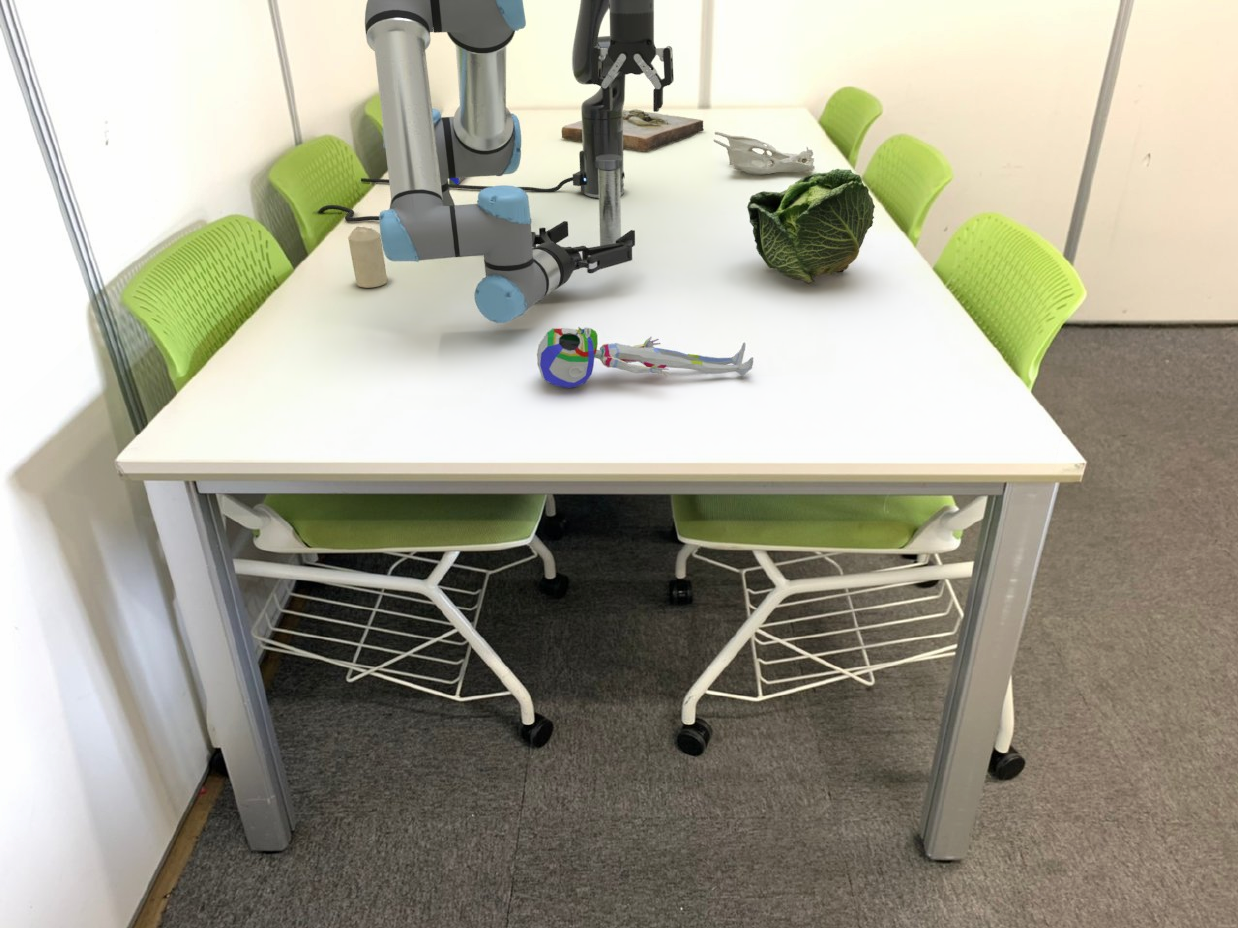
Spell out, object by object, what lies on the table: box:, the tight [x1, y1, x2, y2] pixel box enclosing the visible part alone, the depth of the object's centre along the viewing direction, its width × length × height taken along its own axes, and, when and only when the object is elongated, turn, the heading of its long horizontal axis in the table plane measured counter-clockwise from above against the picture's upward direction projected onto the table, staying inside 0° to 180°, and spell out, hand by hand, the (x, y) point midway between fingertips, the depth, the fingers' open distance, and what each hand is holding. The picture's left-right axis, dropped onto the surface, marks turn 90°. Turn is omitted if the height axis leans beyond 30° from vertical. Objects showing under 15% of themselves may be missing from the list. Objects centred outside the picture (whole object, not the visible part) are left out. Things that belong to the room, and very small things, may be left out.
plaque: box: [561, 108, 705, 152], centre depth 257 cm, size 30×7×30 cm
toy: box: [536, 326, 754, 389], centre depth 127 cm, size 10×8×30 cm
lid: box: [596, 154, 622, 170], centre depth 162 cm, size 5×5×2 cm
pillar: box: [448, 177, 466, 185], centre depth 225 cm, size 2×2×20 cm
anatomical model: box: [713, 131, 815, 176], centre depth 221 cm, size 15×9×25 cm
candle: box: [347, 226, 388, 289], centre depth 159 cm, size 6×6×10 cm
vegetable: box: [746, 168, 876, 284], centre depth 158 cm, size 20×19×20 cm
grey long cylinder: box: [598, 168, 622, 246], centre depth 167 cm, size 4×4×18 cm
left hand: (599, 233), depth 164 cm, fingers open, 13 cm apart
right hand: (632, 110), depth 160 cm, fingers open, 8 cm apart
